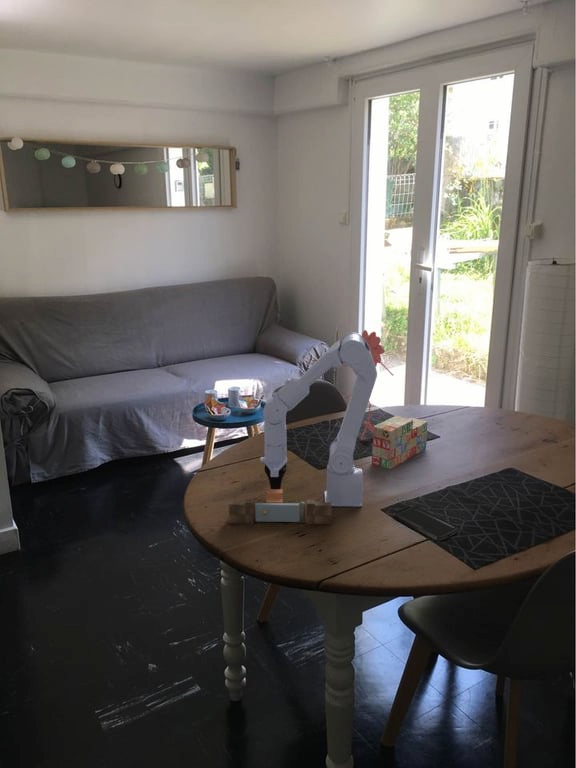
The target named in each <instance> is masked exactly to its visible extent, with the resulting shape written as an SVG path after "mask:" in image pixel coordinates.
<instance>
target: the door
mask: <svg viewBox="0 0 576 768" xmlns="http://www.w3.org/2000/svg"><path fill="white" fill-rule="evenodd" d="M254 520H255V522H269V523H270V522H272V523H274V522H277V523H278V522H281V523H282V522H284V523H292V522H293V523H305V522H306V502H305V501H300V502H299V503H297V502H296V503H295V502H294V503H293V502H292V503H291V502H290V503H289V502H283V503H266V502H254Z"/></svg>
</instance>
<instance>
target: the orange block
mask: <svg viewBox="0 0 576 768" xmlns="http://www.w3.org/2000/svg"><path fill="white" fill-rule="evenodd" d="M283 491H284V490H283V489H282V488H280V489H271V488H266V499H265V501H266V502H265V503H284V502H283V498H284V497H283V495H284V493H283Z"/></svg>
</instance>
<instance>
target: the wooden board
mask: <svg viewBox="0 0 576 768" xmlns="http://www.w3.org/2000/svg"><path fill="white" fill-rule="evenodd" d="M332 507H333V506H332V505H331V502H325V501H324V502H323V501H316V500H315V499H306V525H332V509H333V508H332ZM228 518H229V519H228V520H229V521H228V523H229V524H255V499H253V498H251V499H250V498H246V499H245V500H244V501H242V500H229V502H228Z"/></svg>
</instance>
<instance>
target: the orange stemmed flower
mask: <svg viewBox="0 0 576 768" xmlns="http://www.w3.org/2000/svg"><path fill="white" fill-rule="evenodd" d="M361 336H362V337H363V338H364V339H365V341H366V342H367V343H368V345H369V348H370V351H371V354H372V357H373V361H374V364H375V367H376V368H377V365H378V364H380V365H382V366H383V367H384V368H385V370H386V371H387V372H389V374H390V375H391V376H393V377H394V374H393V373H392V372H391V371H390V370H389V369H388V367H386V365H384V363H383V362H382V356H381V355H382V354H385V349H384V347H383V345H381V340H382V339H381V337H380V336H377V333H376V331H372V332H370V333H368V330H367V329H363V331H362V334H361ZM344 366H345V367H349V366H348V365H347V364H345V363H344V362H343V367H344ZM350 397H351V394H349V395H346V405H347V406H348V403H349V399H348V398H350ZM371 407H372V406H371V401H369V402H368V416H367V417H368V418H367V421H364V424H365V427H364V430H363V432H362V435H361V437H360V441H363V439H364V436H365V434H366V431H367V428H368V429H369V431H370V432H371V433H372V434H373V426H375V424H374V423H373V424H372V423H370V418H371ZM372 425H373V426H372Z"/></svg>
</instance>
